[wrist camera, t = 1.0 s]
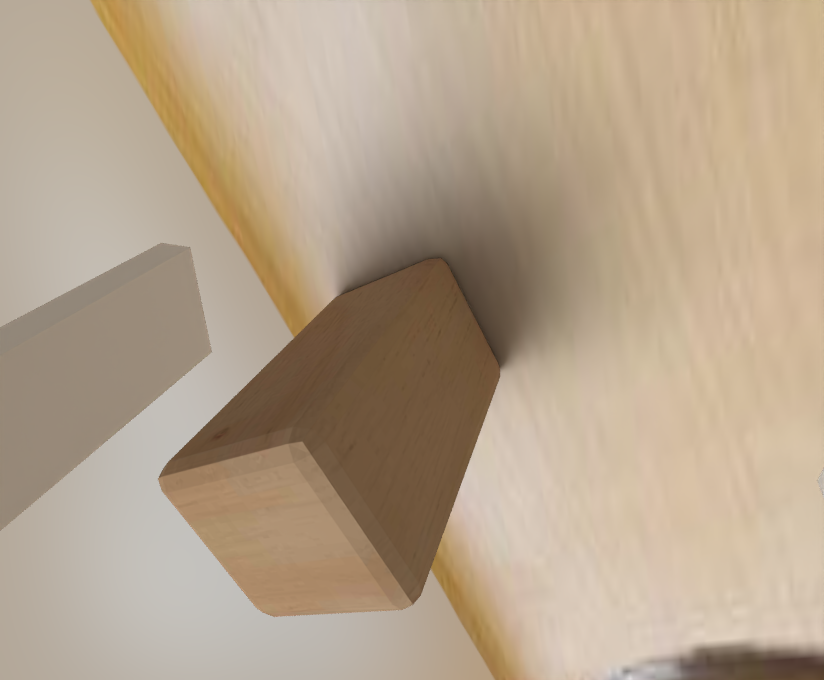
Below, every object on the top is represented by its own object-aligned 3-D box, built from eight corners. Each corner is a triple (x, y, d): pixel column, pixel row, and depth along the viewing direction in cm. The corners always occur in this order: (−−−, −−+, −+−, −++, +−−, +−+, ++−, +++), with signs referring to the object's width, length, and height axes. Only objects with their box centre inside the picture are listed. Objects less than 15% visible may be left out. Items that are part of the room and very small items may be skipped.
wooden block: (331, 296, 42) (140, 479, 26) (445, 247, 37) (299, 437, 21) (394, 402, 45) (259, 626, 29) (508, 371, 40) (422, 619, 24)
